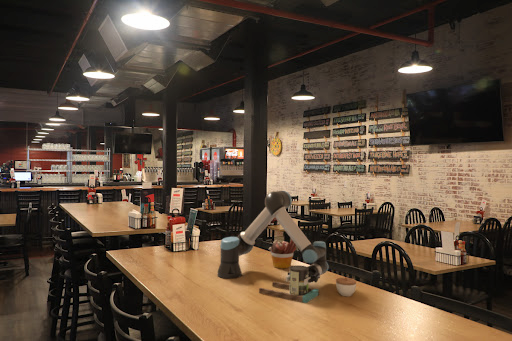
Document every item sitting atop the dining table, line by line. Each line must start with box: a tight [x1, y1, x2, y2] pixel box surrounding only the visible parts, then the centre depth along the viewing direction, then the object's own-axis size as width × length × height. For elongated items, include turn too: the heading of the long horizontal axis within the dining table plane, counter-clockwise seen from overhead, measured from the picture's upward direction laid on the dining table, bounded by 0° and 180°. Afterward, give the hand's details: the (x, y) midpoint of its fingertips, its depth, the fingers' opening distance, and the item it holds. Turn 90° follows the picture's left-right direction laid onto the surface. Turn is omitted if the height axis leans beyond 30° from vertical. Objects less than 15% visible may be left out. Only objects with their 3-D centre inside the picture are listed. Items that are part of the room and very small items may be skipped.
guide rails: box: [258, 281, 320, 303], centre depth 213 cm, size 28×16×2 cm, turn 58°
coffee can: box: [288, 264, 309, 296], centre depth 210 cm, size 10×10×14 cm
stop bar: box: [301, 288, 320, 304], centre depth 206 cm, size 2×16×3 cm, turn 148°
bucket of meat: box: [268, 239, 297, 269], centre depth 272 cm, size 20×16×20 cm
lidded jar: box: [335, 276, 357, 297], centre depth 214 cm, size 11×11×9 cm
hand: (295, 280), depth 206 cm, fingers closed on coffee can, 10 cm apart
